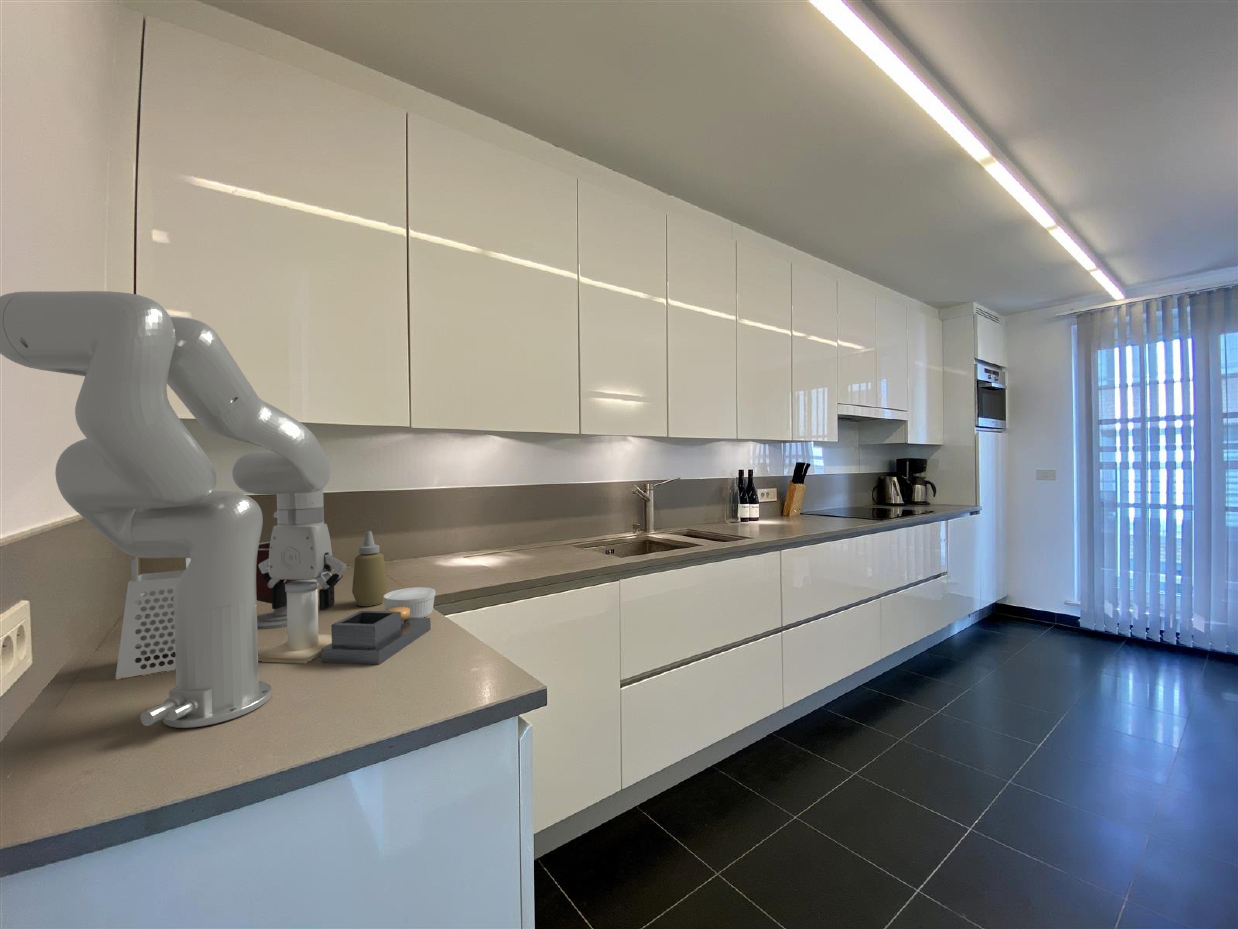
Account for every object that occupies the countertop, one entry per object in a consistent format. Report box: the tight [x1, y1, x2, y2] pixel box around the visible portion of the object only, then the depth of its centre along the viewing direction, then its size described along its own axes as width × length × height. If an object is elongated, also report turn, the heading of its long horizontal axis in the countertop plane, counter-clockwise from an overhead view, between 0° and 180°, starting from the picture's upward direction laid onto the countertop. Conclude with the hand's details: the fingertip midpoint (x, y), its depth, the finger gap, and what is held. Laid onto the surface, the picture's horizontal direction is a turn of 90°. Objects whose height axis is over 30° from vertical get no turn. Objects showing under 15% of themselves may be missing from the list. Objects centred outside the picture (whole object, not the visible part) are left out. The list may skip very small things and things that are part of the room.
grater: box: [115, 556, 191, 678], centre depth 93 cm, size 10×10×20 cm
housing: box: [320, 610, 431, 665], centre depth 100 cm, size 18×11×6 cm, turn 173°
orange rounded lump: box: [385, 607, 410, 625], centre depth 106 cm, size 5×5×4 cm
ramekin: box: [383, 586, 437, 618], centre depth 119 cm, size 11×11×5 cm
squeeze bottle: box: [351, 530, 388, 607], centre depth 129 cm, size 8×8×18 cm
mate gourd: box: [256, 541, 297, 630], centre depth 116 cm, size 16×14×20 cm
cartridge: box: [285, 579, 320, 651], centre depth 98 cm, size 5×5×12 cm
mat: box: [258, 633, 332, 664], centre depth 98 cm, size 12×10×1 cm
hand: (303, 607), depth 98 cm, fingers open, 9 cm apart
